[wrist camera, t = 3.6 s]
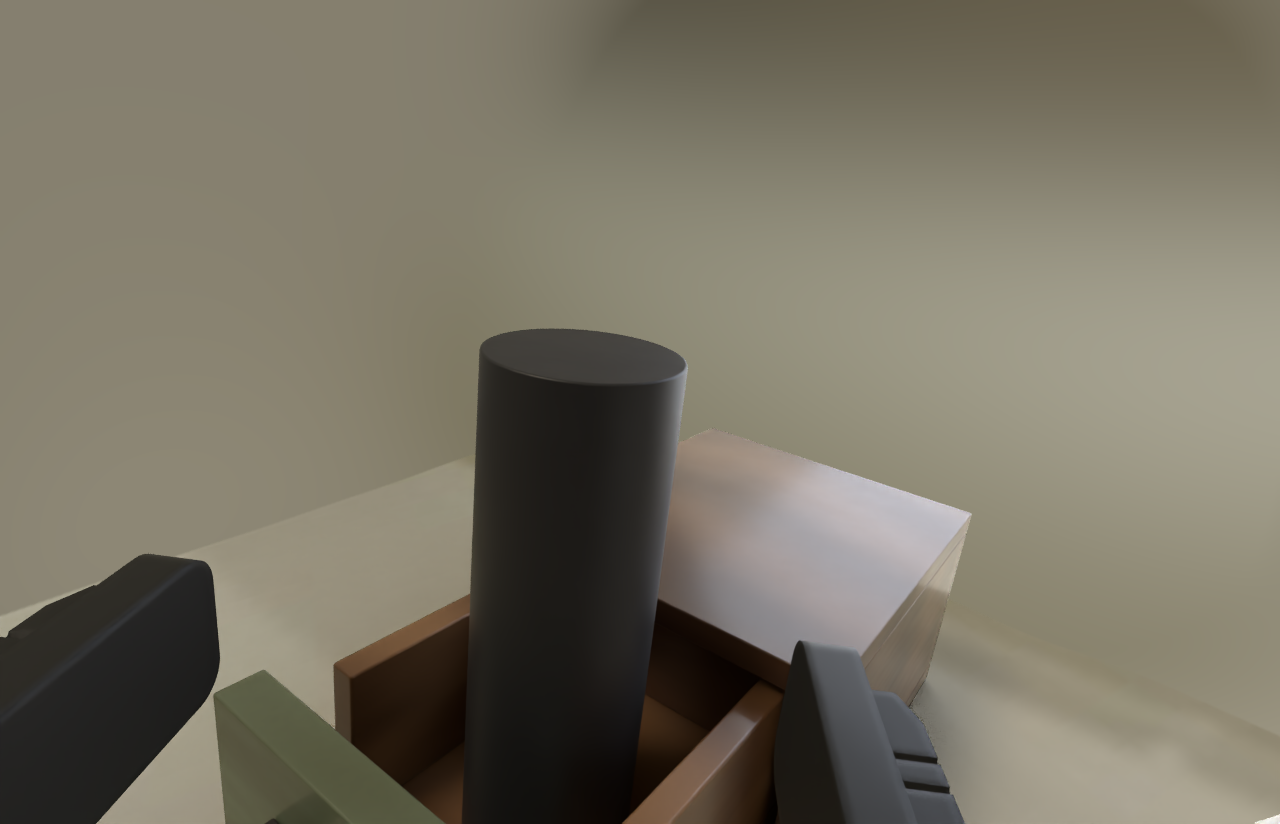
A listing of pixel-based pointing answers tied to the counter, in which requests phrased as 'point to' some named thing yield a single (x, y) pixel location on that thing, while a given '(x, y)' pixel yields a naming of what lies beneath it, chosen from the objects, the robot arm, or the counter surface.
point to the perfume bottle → (1270, 820)
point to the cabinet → (803, 562)
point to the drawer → (435, 737)
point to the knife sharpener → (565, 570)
